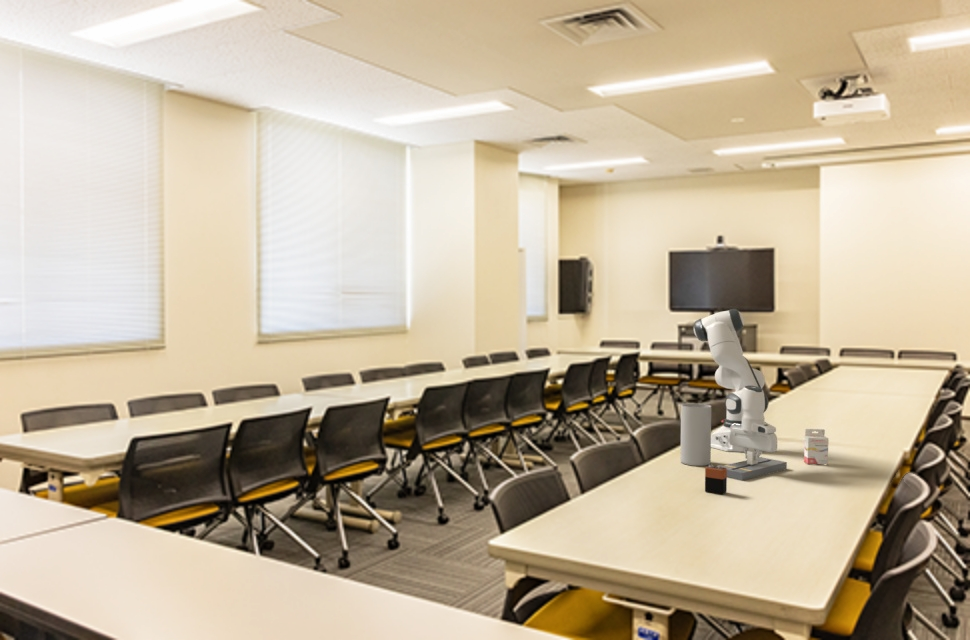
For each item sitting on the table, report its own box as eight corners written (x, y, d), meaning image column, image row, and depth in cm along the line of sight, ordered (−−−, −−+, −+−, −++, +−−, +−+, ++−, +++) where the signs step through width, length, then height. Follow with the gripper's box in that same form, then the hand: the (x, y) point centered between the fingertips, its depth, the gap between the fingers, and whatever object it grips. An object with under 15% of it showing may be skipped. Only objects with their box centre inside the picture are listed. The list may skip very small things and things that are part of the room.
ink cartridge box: (807, 464, 317) (808, 430, 316) (803, 462, 322) (804, 428, 321) (828, 465, 316) (829, 431, 316) (824, 462, 321) (824, 429, 321)
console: (715, 474, 298) (715, 467, 298) (760, 464, 318) (760, 457, 318) (742, 480, 289) (742, 472, 289) (786, 469, 308) (786, 462, 308)
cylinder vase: (714, 466, 313) (715, 407, 312) (684, 466, 313) (685, 407, 312) (705, 460, 326) (706, 403, 325) (677, 459, 325) (677, 403, 325)
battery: (723, 495, 268) (723, 467, 268) (704, 492, 272) (704, 465, 271) (726, 492, 271) (727, 465, 271) (708, 489, 275) (708, 463, 275)
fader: (746, 468, 303) (747, 451, 303) (752, 467, 306) (752, 450, 305) (752, 469, 301) (752, 452, 301) (757, 468, 304) (757, 451, 304)
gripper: (726, 423, 309) (725, 455, 310) (771, 430, 293) (770, 464, 293) (735, 421, 313) (734, 454, 313) (779, 428, 297) (779, 462, 297)
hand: (752, 459), depth 303 cm, fingers closed on fader, 2 cm apart
